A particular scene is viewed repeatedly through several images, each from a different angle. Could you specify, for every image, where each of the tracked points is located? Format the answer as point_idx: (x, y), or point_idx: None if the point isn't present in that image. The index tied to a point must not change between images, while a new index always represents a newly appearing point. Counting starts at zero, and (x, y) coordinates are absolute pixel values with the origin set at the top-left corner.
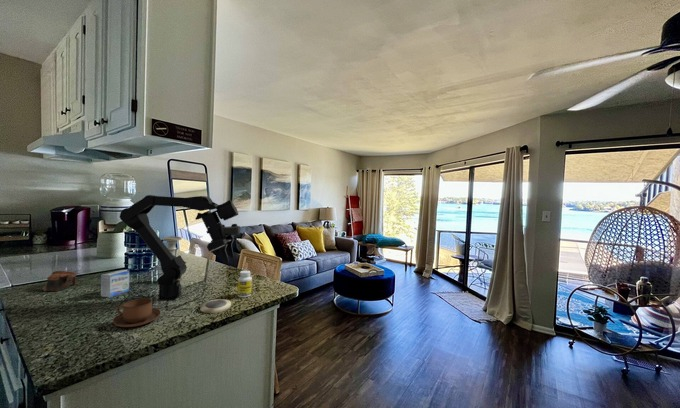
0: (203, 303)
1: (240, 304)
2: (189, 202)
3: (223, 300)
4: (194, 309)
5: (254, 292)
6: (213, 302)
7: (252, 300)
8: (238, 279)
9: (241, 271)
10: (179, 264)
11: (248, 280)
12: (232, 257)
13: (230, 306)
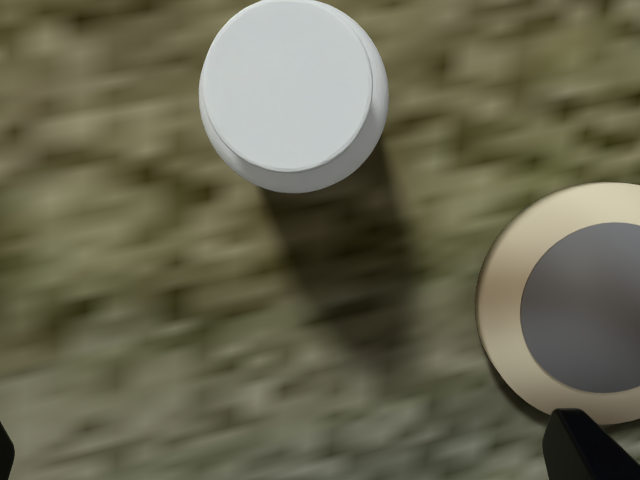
0: None
1: (547, 105)
2: None
3: (520, 267)
4: None
5: (218, 22)
6: (574, 339)
7: (455, 6)
8: (337, 181)
9: (274, 154)
10: None
11: (366, 35)
12: (2, 442)
13: (608, 182)
